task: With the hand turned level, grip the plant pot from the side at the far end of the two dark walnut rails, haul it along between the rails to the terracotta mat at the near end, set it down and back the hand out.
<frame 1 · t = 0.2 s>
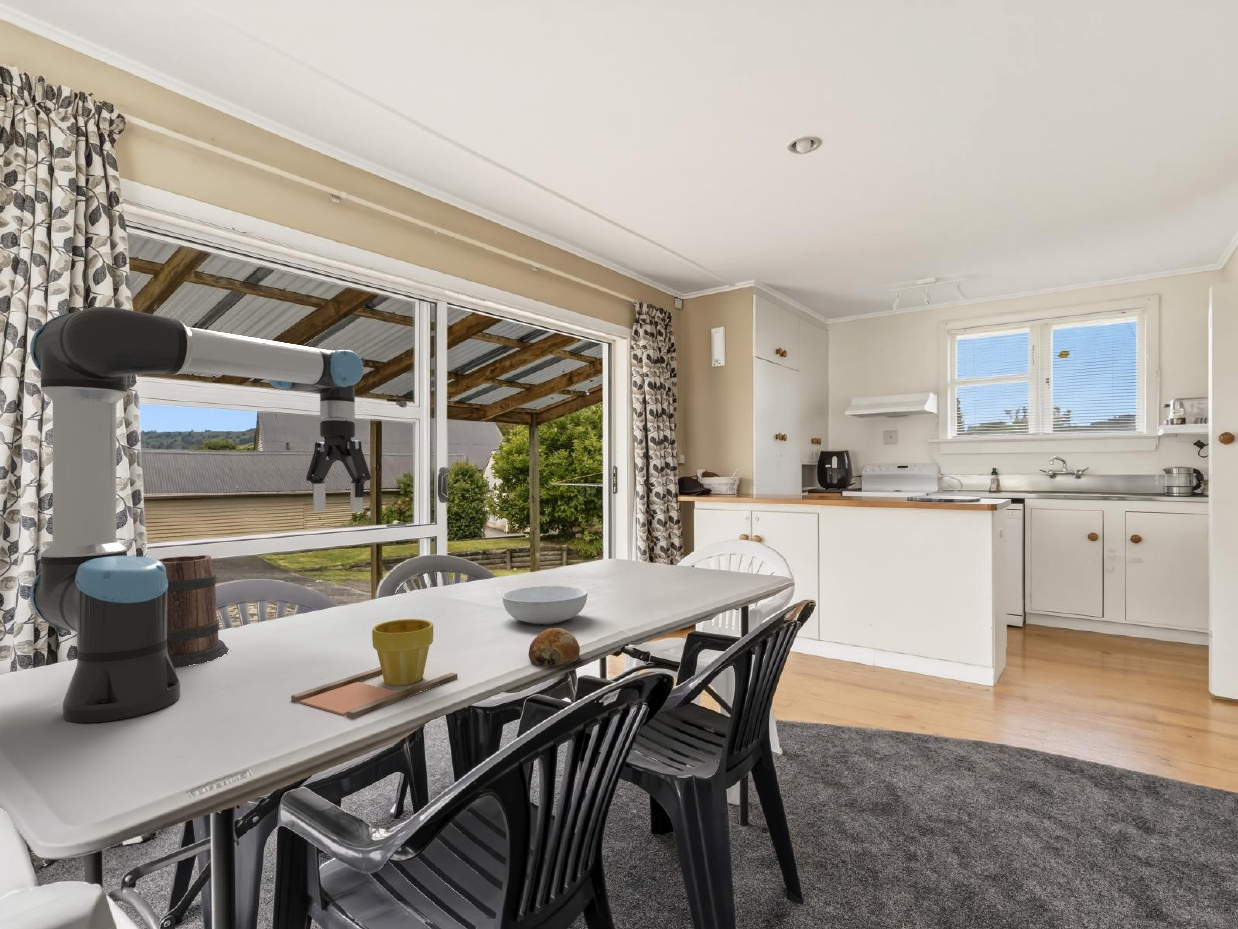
hand: (337, 511, 156), 28 cm above the table, tool pointing down, fingers open, 13 cm apart
tankard: (177, 654, 138), on the table
plant pot: (403, 681, 120), on the table
bread roll: (554, 661, 132), on the table
serving bowl: (545, 621, 165), on the table
terracotta mat: (350, 698, 110), on the table
walnut track: (378, 688, 115), on the table
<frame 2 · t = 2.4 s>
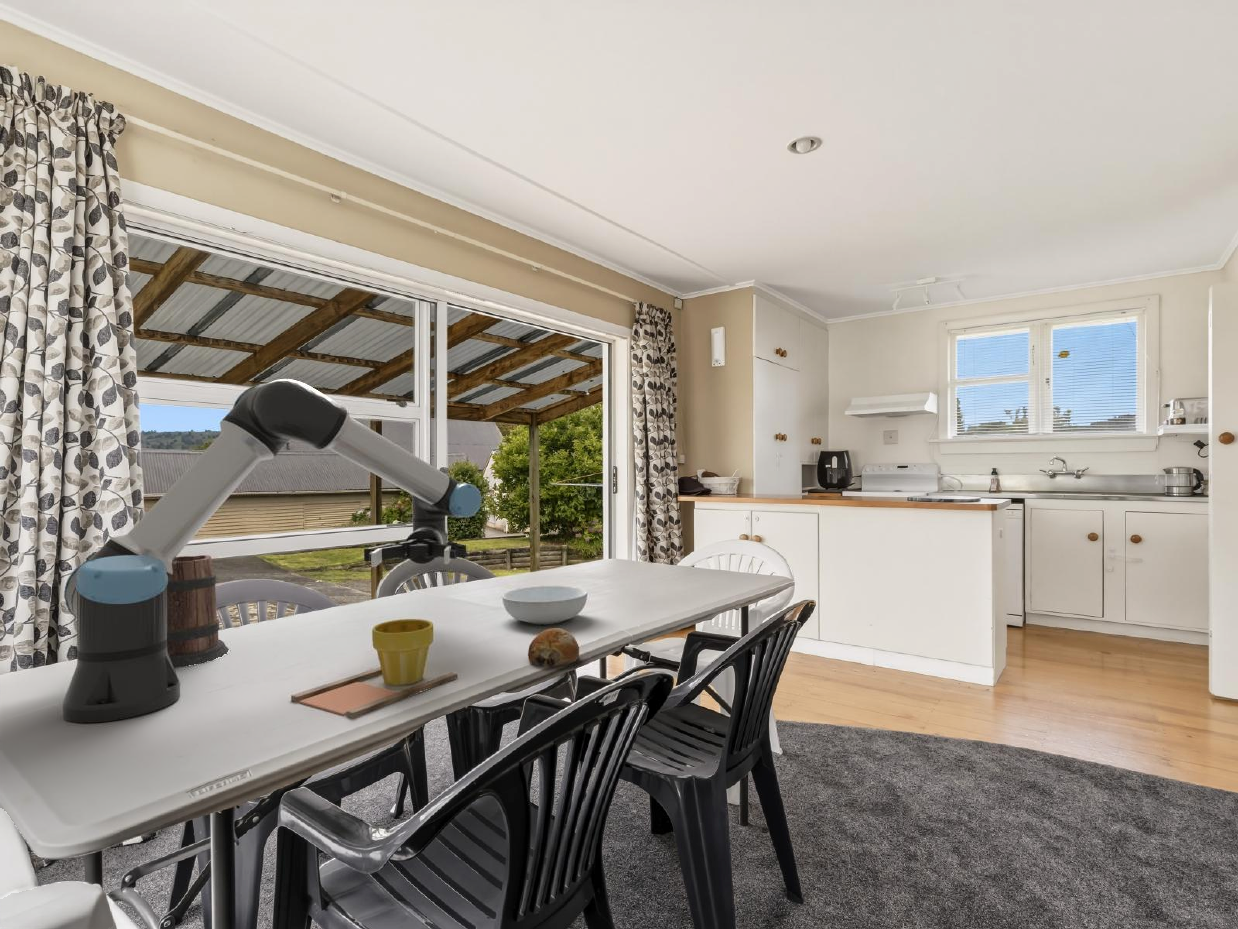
hand: (409, 558, 130), 20 cm above the table, tool horizontal, fingers open, 13 cm apart
nothing on the table moved.
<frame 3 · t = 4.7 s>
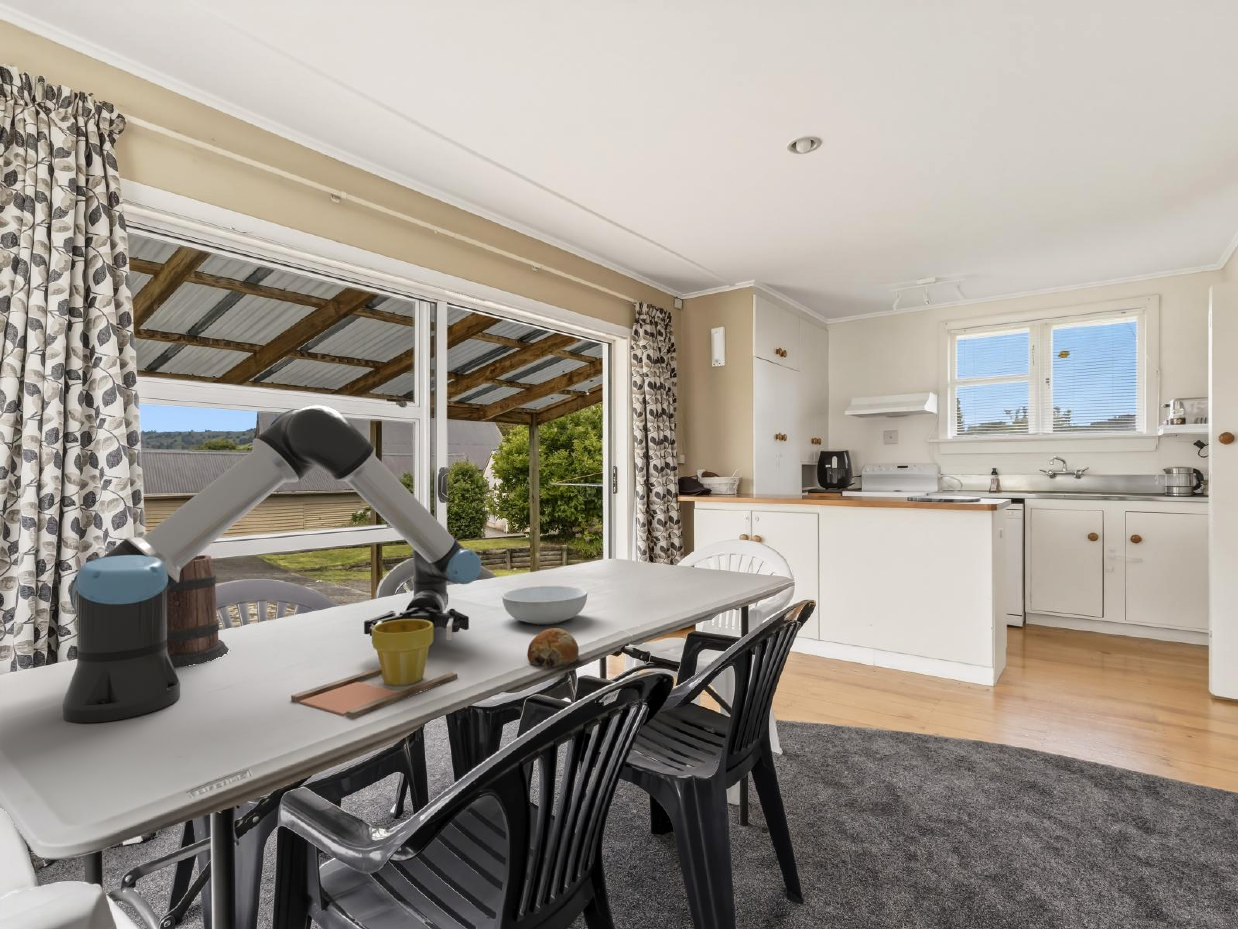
hand: (411, 635, 126), 6 cm above the table, tool horizontal, fingers open, 13 cm apart
nothing on the table moved.
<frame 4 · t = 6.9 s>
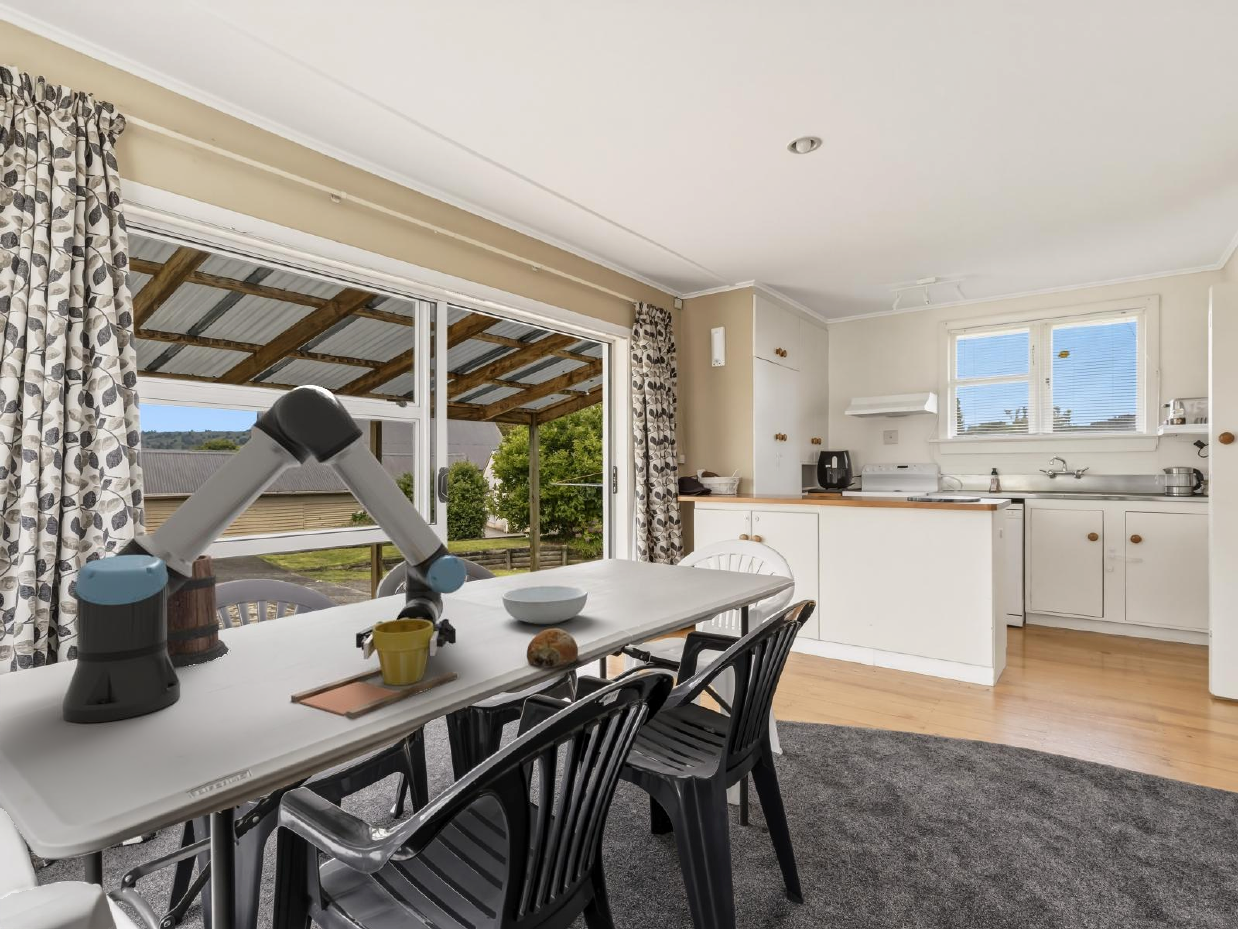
hand: (399, 649, 116), 7 cm above the table, tool horizontal, fingers closed on plant pot, 10 cm apart
plant pot: (403, 681, 120), on the table, touching gripper
everything else where it was.
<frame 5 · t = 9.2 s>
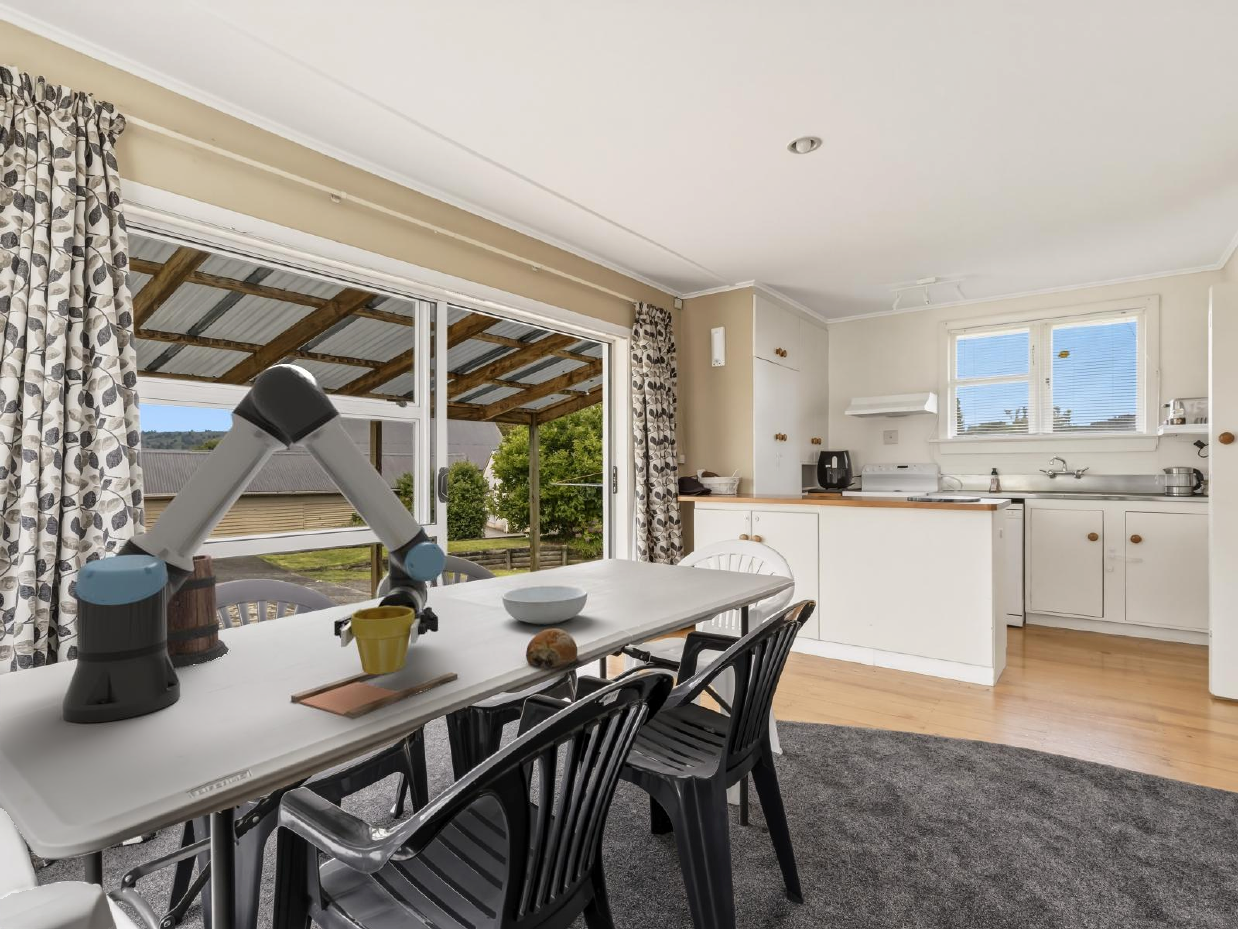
hand: (378, 637, 111), 10 cm above the table, tool horizontal, fingers closed on plant pot, 10 cm apart
plant pot: (383, 670, 116), point 3 cm above the table, touching gripper
everything else where it was.
when the fingers open (8 cm above the table, at t = 11.6 s): plant pot drops 1 cm, resting on terracotta mat.
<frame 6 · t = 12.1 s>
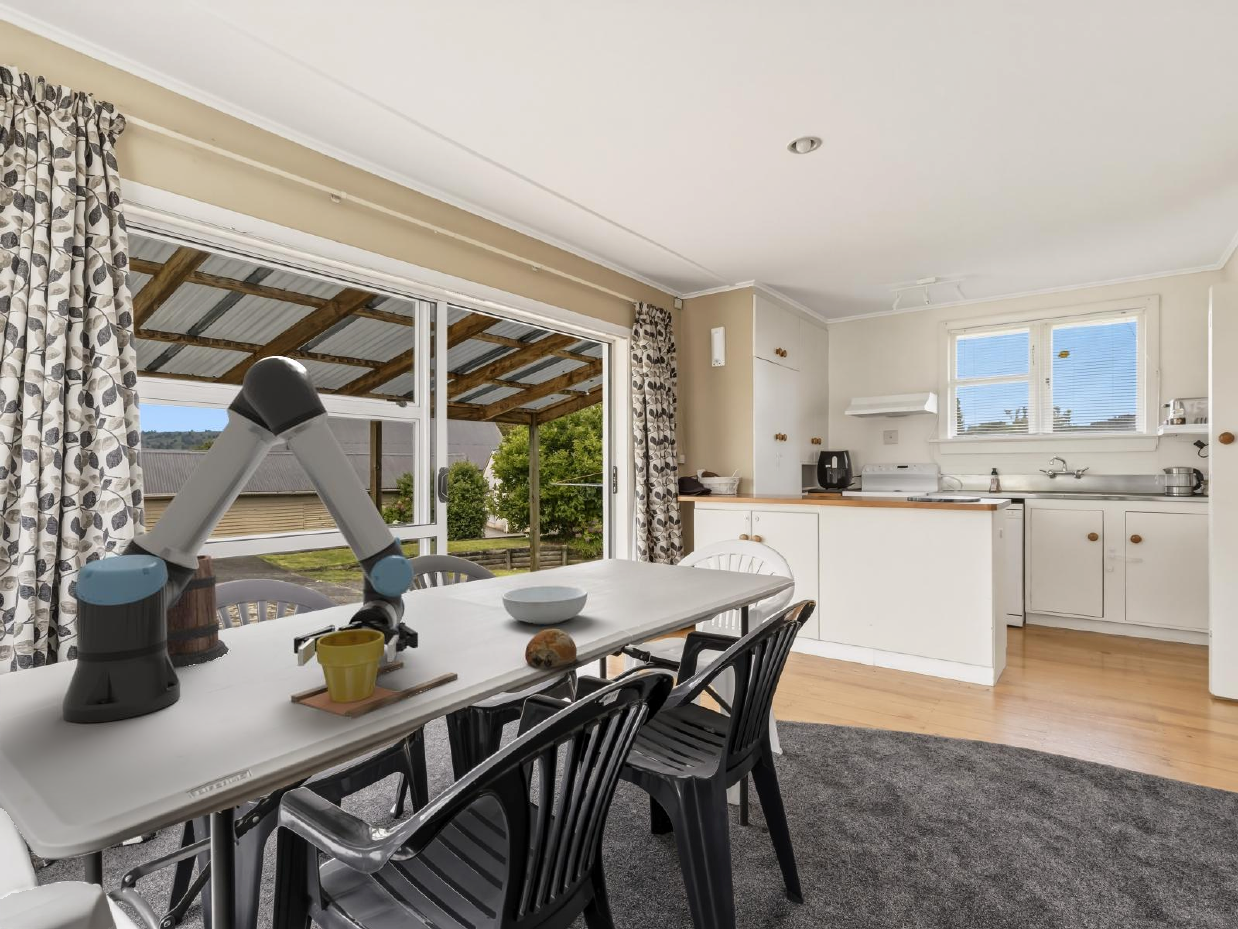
hand: (345, 655, 107), 8 cm above the table, tool horizontal, fingers open, 13 cm apart
plant pot: (351, 697, 110), resting on terracotta mat
everything else where it was.
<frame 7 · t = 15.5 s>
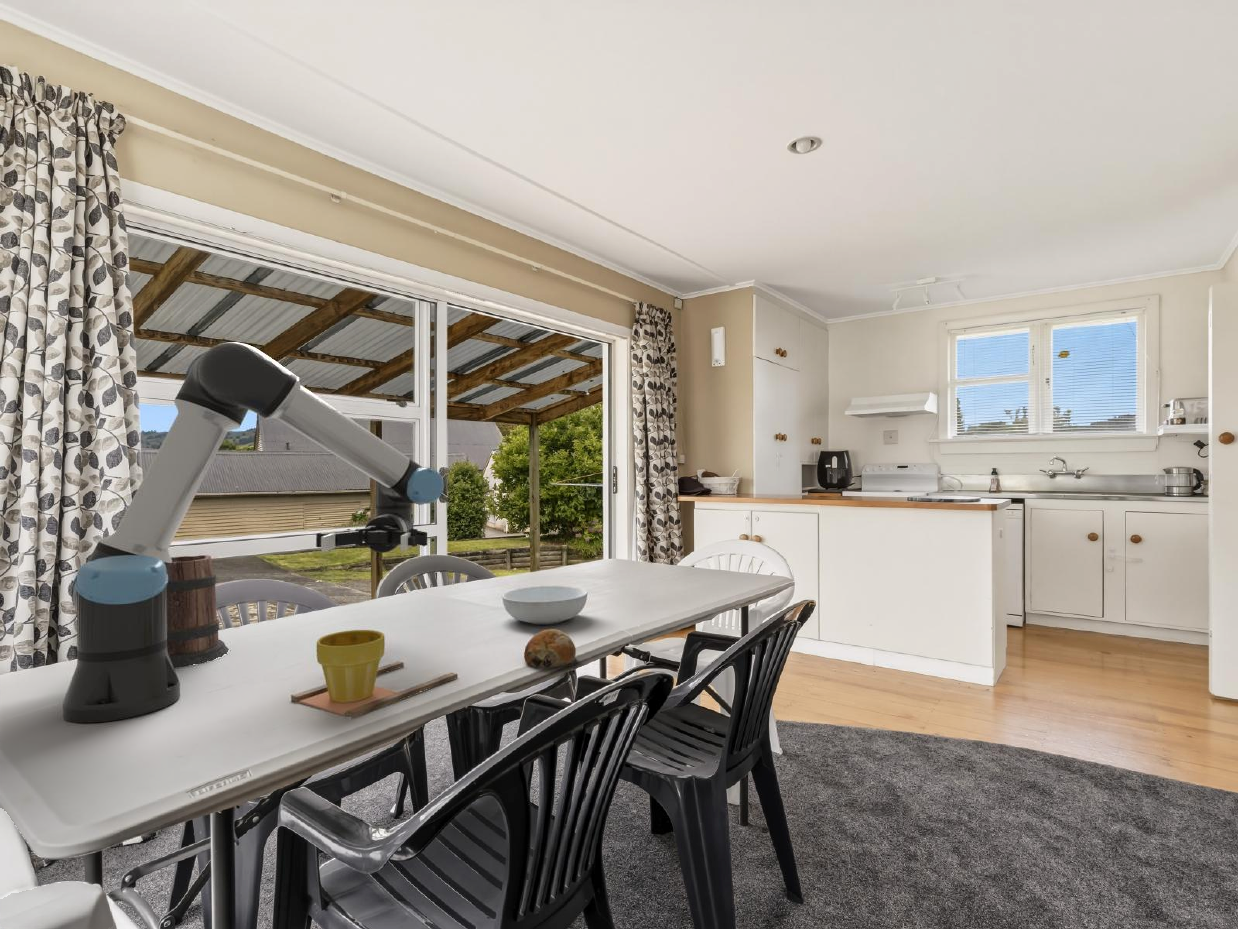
hand: (363, 544, 120), 24 cm above the table, tool horizontal, fingers open, 13 cm apart
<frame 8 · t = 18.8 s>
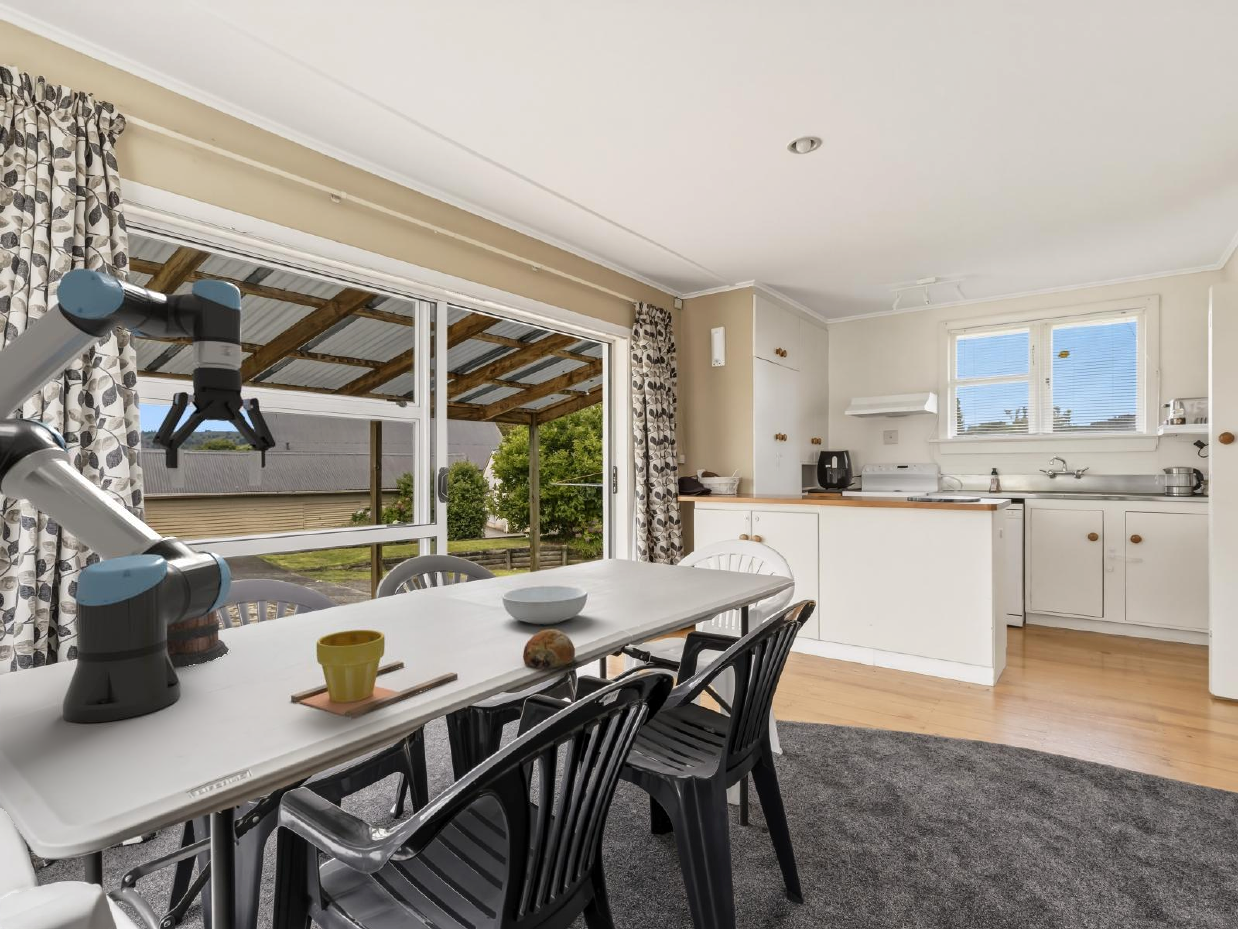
hand: (218, 486, 121), 35 cm above the table, tool pointing down, fingers open, 13 cm apart
at the end: plant pot 0.1 cm from the terracotta mat (horizontally); plant pot tilted 0°; the gripper is holding nothing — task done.
